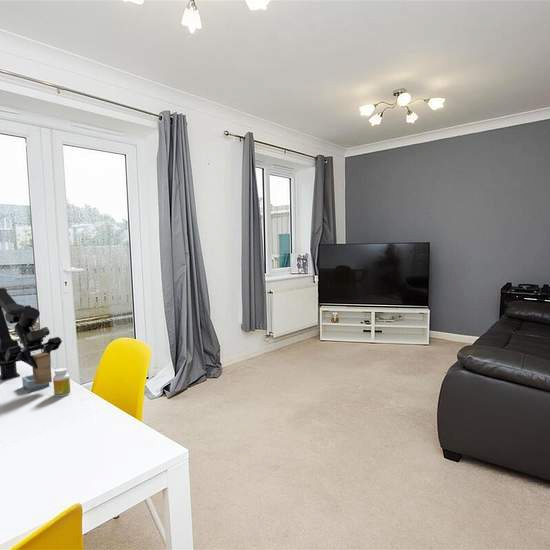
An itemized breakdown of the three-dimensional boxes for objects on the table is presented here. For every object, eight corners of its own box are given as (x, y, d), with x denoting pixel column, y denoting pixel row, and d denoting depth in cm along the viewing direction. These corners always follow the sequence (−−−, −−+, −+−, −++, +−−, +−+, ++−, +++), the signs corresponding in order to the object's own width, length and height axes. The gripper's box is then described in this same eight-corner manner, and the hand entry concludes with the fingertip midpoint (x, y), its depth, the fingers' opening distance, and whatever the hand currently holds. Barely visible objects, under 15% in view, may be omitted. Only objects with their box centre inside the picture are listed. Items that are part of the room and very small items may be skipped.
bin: (22, 386, 152) (22, 377, 151) (43, 381, 157) (42, 372, 157) (28, 391, 147) (28, 381, 147) (49, 385, 152) (48, 376, 152)
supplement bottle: (65, 397, 142) (63, 372, 140) (51, 397, 142) (49, 372, 141) (73, 391, 147) (71, 367, 146) (59, 391, 147) (57, 367, 146)
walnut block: (33, 382, 145) (31, 355, 144) (46, 379, 149) (43, 352, 148) (39, 385, 143) (37, 357, 142) (51, 381, 147) (49, 353, 146)
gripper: (5, 326, 138) (22, 361, 133) (57, 317, 153) (74, 347, 149) (-2, 344, 143) (13, 378, 138) (49, 333, 159) (65, 363, 154)
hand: (43, 366), depth 145 cm, fingers closed on walnut block, 4 cm apart
